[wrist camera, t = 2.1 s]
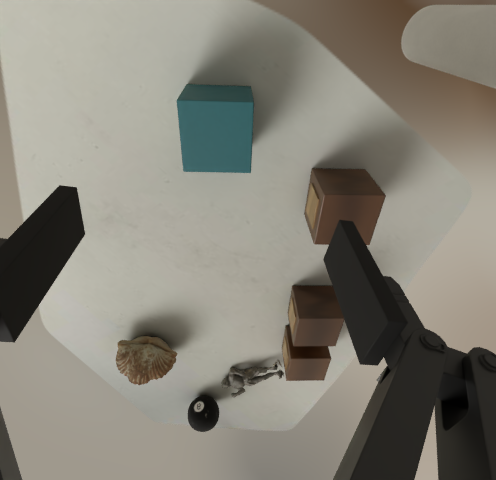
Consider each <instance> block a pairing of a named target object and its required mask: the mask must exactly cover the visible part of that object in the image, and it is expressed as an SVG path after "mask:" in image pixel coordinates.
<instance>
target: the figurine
mask: <svg viewBox="0 0 496 480" xmlns="http://www.w3.org/2000/svg"><path fill="white" fill-rule="evenodd" d="M278 361H279V360H278ZM276 363H277V362H276ZM276 363H275V364H274V366H273V367H270V368H266V367H265V368H256V367H254V368H249V369H244V370H245V373H244V370H241V371H240V370H238V369H235V368H232V367H231V368H230V371H229V377H226V378H224V379H223V381H222V383H221V384H222V387H223V388H228V387H230V386H231V385H232V386H233V387H234V388H237V389H239V391H238V392H237V393H232V394H231V395H232V397H236V396H237V395H240V394H241V393H244V392H245V389H244V388H243V386H244V385H249V386H251V385H255V384H256V383H258V382H260V381H262V380H266V379H268V378H269V377H271V376H273V375H276V374H277V375H278V376H279V379H280V378H282V375H283V376H284V373H283V372H282V370H279V371H278V372H274V373H267V374H266V375H263V376H257V375H258V374H259V373H265V372H266V371H267V370H268V369H270V370H277V367H278V366H277V364H276ZM279 364H280V361H279ZM280 365H281V364H280Z"/></svg>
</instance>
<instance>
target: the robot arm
mask: <svg viewBox="0 0 496 480" xmlns="http://www.w3.org/2000/svg"><path fill="white" fill-rule="evenodd" d="M84 235H85V231H84V225H83V220H82V214H81V209H80V203H79V197H78V192H77V187H69V186H59V187H58V188H57V189H56V190H55V191H54V192H53V193H52V194H51V195H50V196H49V197H48V198H47V199H46V200H45V201H44V202H43V203H42V204H41V205H40V206H39V207H38V208H37V209H36V210H35V211H34V212H33V213H32V214H31V216H30V217H29V218H28V219H27V220H26V221H25V222H24V223H23V224H22V225H21V226H20V227H19V228H18V229H17V230H16V231H15V232H14V233H13V234H12V235H11V236H10V237H9V238H8V239H3V238H0V341H1V342H15V341H16V339H17V338H18V336H19V335H20V333H21V331H22V330H23V329H24V327H25V326H26V324H27V322H28V321H29V319H30V318H31V316H32V315H33V313H34V311H35V310H36V309H37V307H38V306H39V304H40V303H41V301H42V299H43V298H44V296H45V295H46V293H47V292H48V290H49V289H50V287H51V286H52V284H53V283H54V281H55V279H56V278H57V276H58V275H59V273H60V272H61V270H62V269H63V267H64V266H65V264H66V263H67V261H68V260H69V258H70V256H71V255H72V253H73V252H74V250H75V249H76V247H77V246H78V244H79V243H80V241H81V240H82V238H83V237H84ZM324 262H325V265H326V268H327V271H328V274H329V277H330V279H331V282H332V285H333V288H334V291H335V294H336V297H337V300H338V302H339V305H340V308H341V311H342V314H343V317H344V320H345V323H346V325H347V328H348V331H349V334H350V337H351V340H352V343H353V346H354V348H355V351H356V354H357V357H358V360H359V362H360V364H363V365H364V364H365V365H378V364H379V363H380V361H381V360H382V359H383V357H384V358H385V360H386V363H387V365H388V366H387V367H386V368H385V370H384V371H383V372H382V374H381V375H380V376H379V378H378V379H377V381H378V384H377V386H376V389H375V391H374V393H373V395H372V397H371V399H370V401H369V404H368V406H367V408H366V410H365V413H364V414H363V417H362V419H361V421H360V423H359V425H358V427H357V429H356V431H355V434H354V436H353V438H352V440H351V442H350V444H349V446H348V449H347V451H346V453H345V455H344V457H343V459H342V461H341V464H340V466H339V468H338V470H337V472H336V474H335V476H334V479H333V480H414V478H415V475H416V471H417V468H418V464H419V460H420V457H421V453H422V449H423V446H424V442H425V438H426V434H427V430H428V427H429V424H430V420H431V416H432V412H433V409H434V405H435V421H436V439H437V457H438V458H437V459H438V478H439V480H496V355H495V354H494V353H492V352H491V351H489V350H487V349H483V348H480V347H477V348H473V349H472V350H470V351H469V352H468V354H466V353H463V352H461V351H458V350H455V349H452V348H449V347H447V345H446V343H445V342H444V341H443V340H442V339H441V338H440V336H438V335H437V334H435V333H434V332H432V331H430V330H427V329H425V328H424V326H423V324H422V323H421V321H420V319H419V317H418V316H417V314H416V312H415V311H414V309H413V307H412V306H411V304H410V303H409V300H408V299H407V297H406V296H405V294H404V292H403V290H402V289H401V287H400V285H399V284H398V283H397V282H396V281H395V280H394V279H392V278H391V277H387V276H383V275H382V274H381V272H380V270H379V268H378V266H377V264H376V263H375V261H374V259H373V257H372V255H371V253H370V252H369V250H368V248H367V246H366V244H365V242H364V241H363V239H362V237H361V235H360V233H359V231H358V230H357V228H356V226H355V224H354V222H353V221H347V220H339V221H338V224H337V226H336V229H335V231H334V234H333V237H332V239H331V242H330V244H329V247H328V249H327V252H326V254H325V257H324ZM0 480H22V478H21V474H20V471H19V468H18V464H17V461H16V458H15V454H14V451H13V448H12V445H11V441H10V438H9V435H8V432H7V428H6V425H5V421H4V418H3V415H2V412H1V409H0Z"/></svg>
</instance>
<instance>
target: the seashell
mask: <svg viewBox="0 0 496 480" xmlns="http://www.w3.org/2000/svg"><path fill="white" fill-rule="evenodd" d="M176 356H177V353H176V352H175V351H173V350H172V349H170V347H169V346H168V345H167V343H165V342H164V341H163V340H162V339H160V338H158V337H149V336H142V337H138V338H136V339H134V340H131V341H127V340H121V341H119V342H118V351H117V356H116V364H117V367H118V369H119V370H120V373H122V374H123V373H124V375H125V376H127V377H128V379H129V381H130V382H131V383H133V384H138V385H141V384H145V383H148V382H149V381H150V380H153V379H156V380H157V379H158V378H162V377H163V376H164V375H166V374H167V372H169V370H171V369H172V367H173V364H174V363H175V362H176V358H175V357H176Z"/></svg>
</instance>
